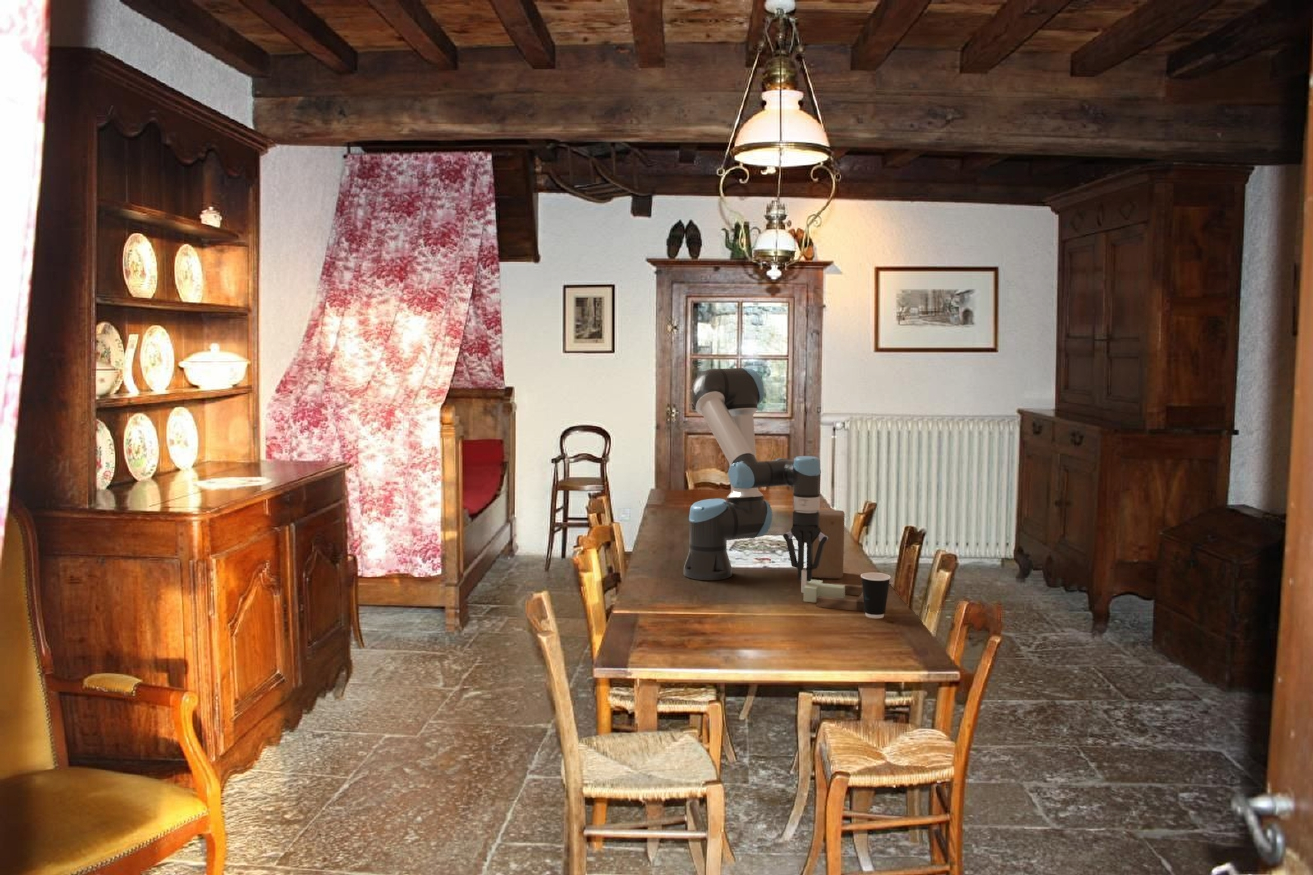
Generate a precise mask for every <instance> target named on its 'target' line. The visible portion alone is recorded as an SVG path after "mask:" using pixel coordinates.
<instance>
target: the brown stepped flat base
mask: <svg viewBox="0 0 1313 875" xmlns="http://www.w3.org/2000/svg"><path fill="white" fill-rule="evenodd" d="M827 584H835V585H845V595H850V596H858V598H857V599H854V598H853V599H852V598H846V597H845V598H834V597H823V596H818V597H817V602H816V607H818V608H830V609H835V610H836V609H837V610H848V611H859V612H864V600H863V588H862V584H860V585H858V584H847V583H836V582H828V583H827Z"/></svg>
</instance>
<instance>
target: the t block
mask: <svg viewBox="0 0 1313 875" xmlns="http://www.w3.org/2000/svg"><path fill="white" fill-rule="evenodd" d="M818 596H823V597H834V598H845V599H846V594H845V585H835V584H828V583H824V580H823V579H822V580H820V579H811V581H808V583H807V584H806V586H805V587H804V593H803V598H802V599H803V600H802V601H803V602H804V603H807V602H808V603H816V604H817V597H818Z"/></svg>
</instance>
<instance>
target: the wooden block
mask: <svg viewBox="0 0 1313 875" xmlns="http://www.w3.org/2000/svg"><path fill="white" fill-rule="evenodd" d="M818 512H819V527H820V529H821V533H823V534H824V535H825V536H826V535H827V536H828V540H827V541H826V542H825V544H824V548H823V552H822V555H821V559H820V562H819V566H818V567H817V568H816V569H812V579H813V578H814V579H817V578H818V579H835V580H836V579H837V580H841V579H842V578H843V576H844V560H845V559H844V557H845V556H844V554H845V551H844V550H845V518H846V516H845V511H844V510H835V509H819V510H818ZM819 543H820V541H819V536H818V537H817V538H816V540H815V541H814V542H813V564H814V560H815V557H816V553H817V549H818V546H819Z"/></svg>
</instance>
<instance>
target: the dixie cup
mask: <svg viewBox="0 0 1313 875" xmlns="http://www.w3.org/2000/svg"><path fill="white" fill-rule="evenodd" d="M860 578H861V586H862V588H863V600H864V611H863V612H864V613H865V617H866V618H869V619H883V618H884V616H885V614H886V609H887V600H888V593H889V586H890V579H891V575H890V574H888V573H883V572H865V573H861V574H860Z"/></svg>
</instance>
